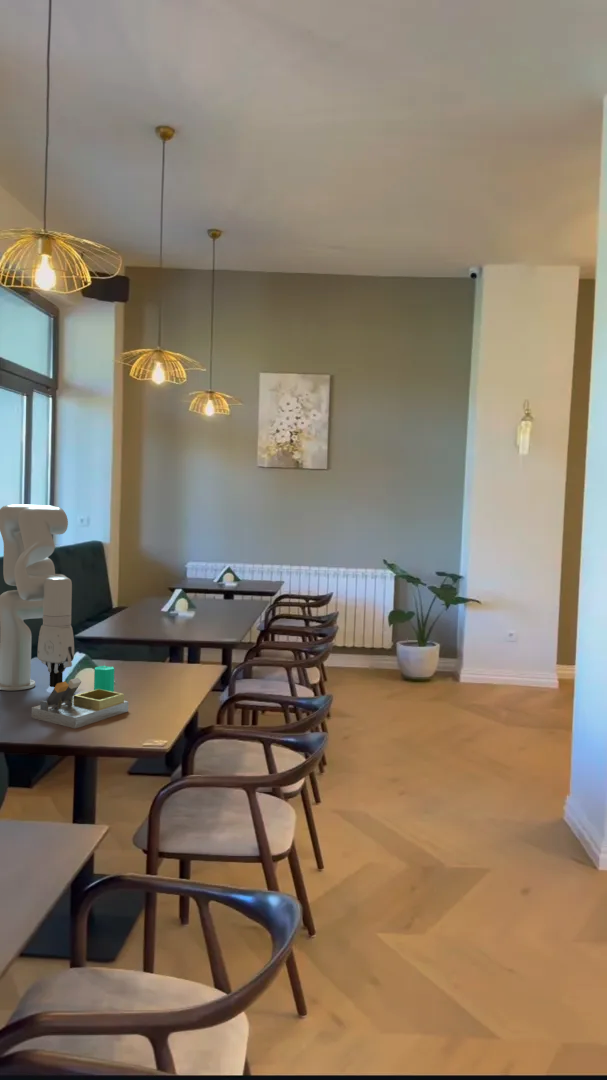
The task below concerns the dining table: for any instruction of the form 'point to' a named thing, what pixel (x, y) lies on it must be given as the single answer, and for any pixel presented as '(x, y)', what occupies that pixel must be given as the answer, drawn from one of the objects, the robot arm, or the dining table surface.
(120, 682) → the dining table surface
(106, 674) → the candle
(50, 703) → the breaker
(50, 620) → the robot arm
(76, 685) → the block
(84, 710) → the panel
